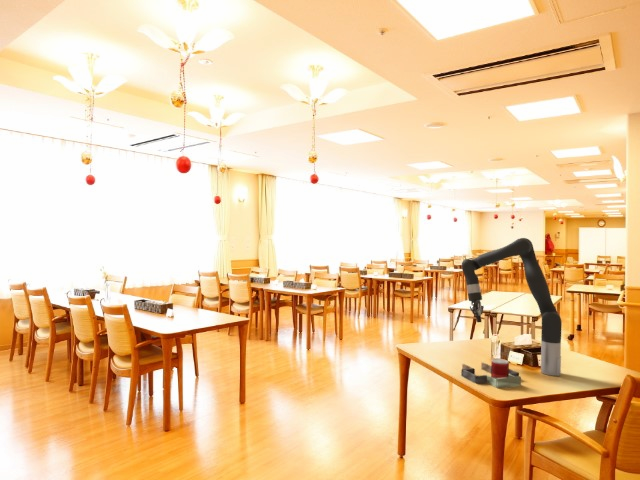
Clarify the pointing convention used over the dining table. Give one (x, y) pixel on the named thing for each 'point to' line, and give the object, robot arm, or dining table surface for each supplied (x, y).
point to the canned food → (499, 368)
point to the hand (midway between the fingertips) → (479, 322)
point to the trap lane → (498, 382)
